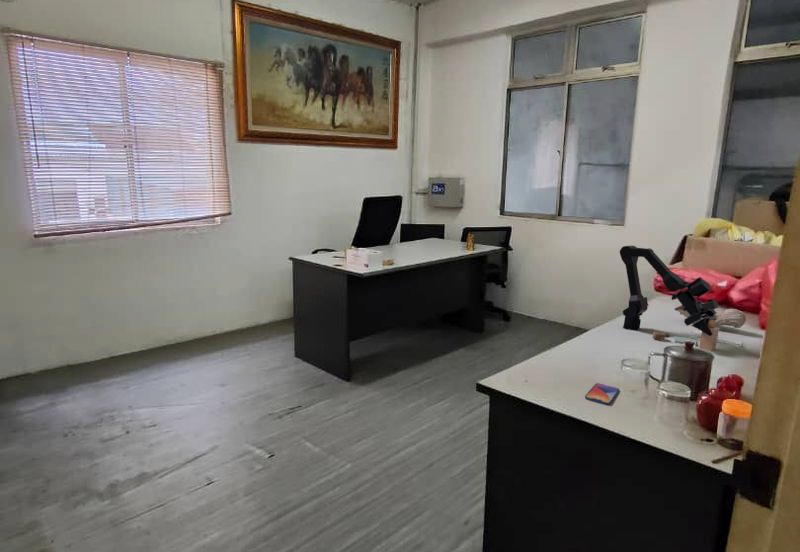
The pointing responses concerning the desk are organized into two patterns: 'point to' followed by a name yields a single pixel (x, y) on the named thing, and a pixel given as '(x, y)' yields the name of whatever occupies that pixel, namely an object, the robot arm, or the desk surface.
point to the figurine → (723, 317)
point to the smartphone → (602, 394)
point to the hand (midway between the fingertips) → (713, 334)
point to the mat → (682, 339)
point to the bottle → (710, 341)
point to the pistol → (720, 339)
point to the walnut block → (659, 336)
